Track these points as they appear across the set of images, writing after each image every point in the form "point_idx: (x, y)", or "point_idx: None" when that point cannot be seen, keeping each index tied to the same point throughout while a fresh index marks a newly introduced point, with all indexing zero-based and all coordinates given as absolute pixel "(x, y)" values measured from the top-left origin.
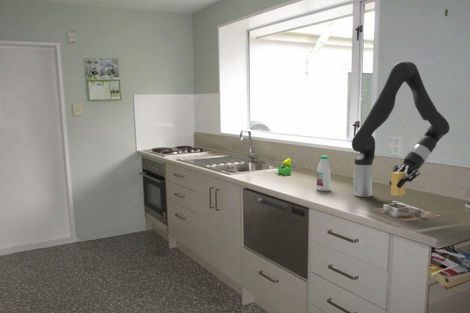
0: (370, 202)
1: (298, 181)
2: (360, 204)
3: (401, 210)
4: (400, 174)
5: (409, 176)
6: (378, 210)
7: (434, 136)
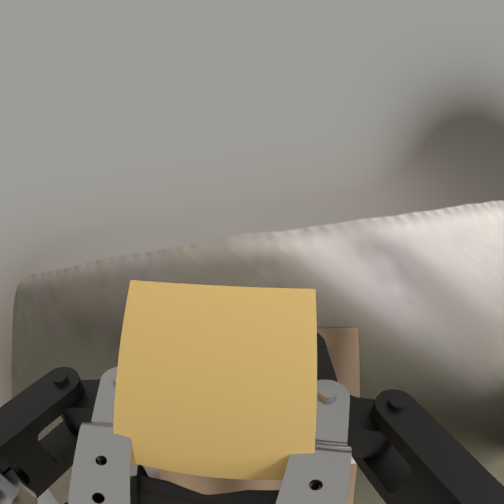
0: (462, 402)
1: None
2: (452, 342)
3: None
4: (129, 346)
5: (30, 387)
6: (326, 337)
7: None
